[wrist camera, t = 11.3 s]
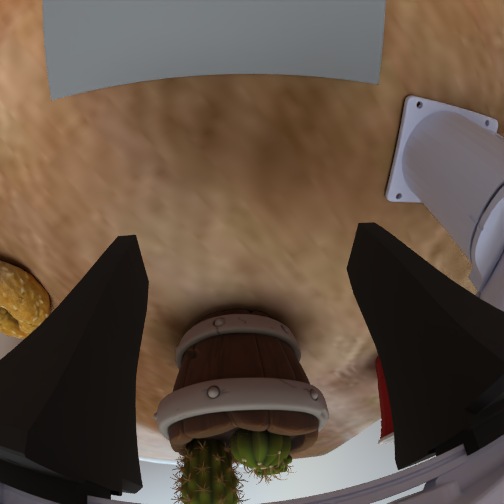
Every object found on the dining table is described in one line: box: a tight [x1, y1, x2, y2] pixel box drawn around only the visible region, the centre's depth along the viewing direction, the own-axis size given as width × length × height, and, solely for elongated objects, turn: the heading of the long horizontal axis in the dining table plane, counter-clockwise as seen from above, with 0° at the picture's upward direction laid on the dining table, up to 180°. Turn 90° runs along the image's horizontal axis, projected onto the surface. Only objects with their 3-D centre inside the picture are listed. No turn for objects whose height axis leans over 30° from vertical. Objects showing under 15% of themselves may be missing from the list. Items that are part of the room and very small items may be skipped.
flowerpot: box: [154, 309, 329, 504], centre depth 23 cm, size 14×15×20 cm
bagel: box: [0, 261, 50, 339], centre depth 23 cm, size 10×11×5 cm
